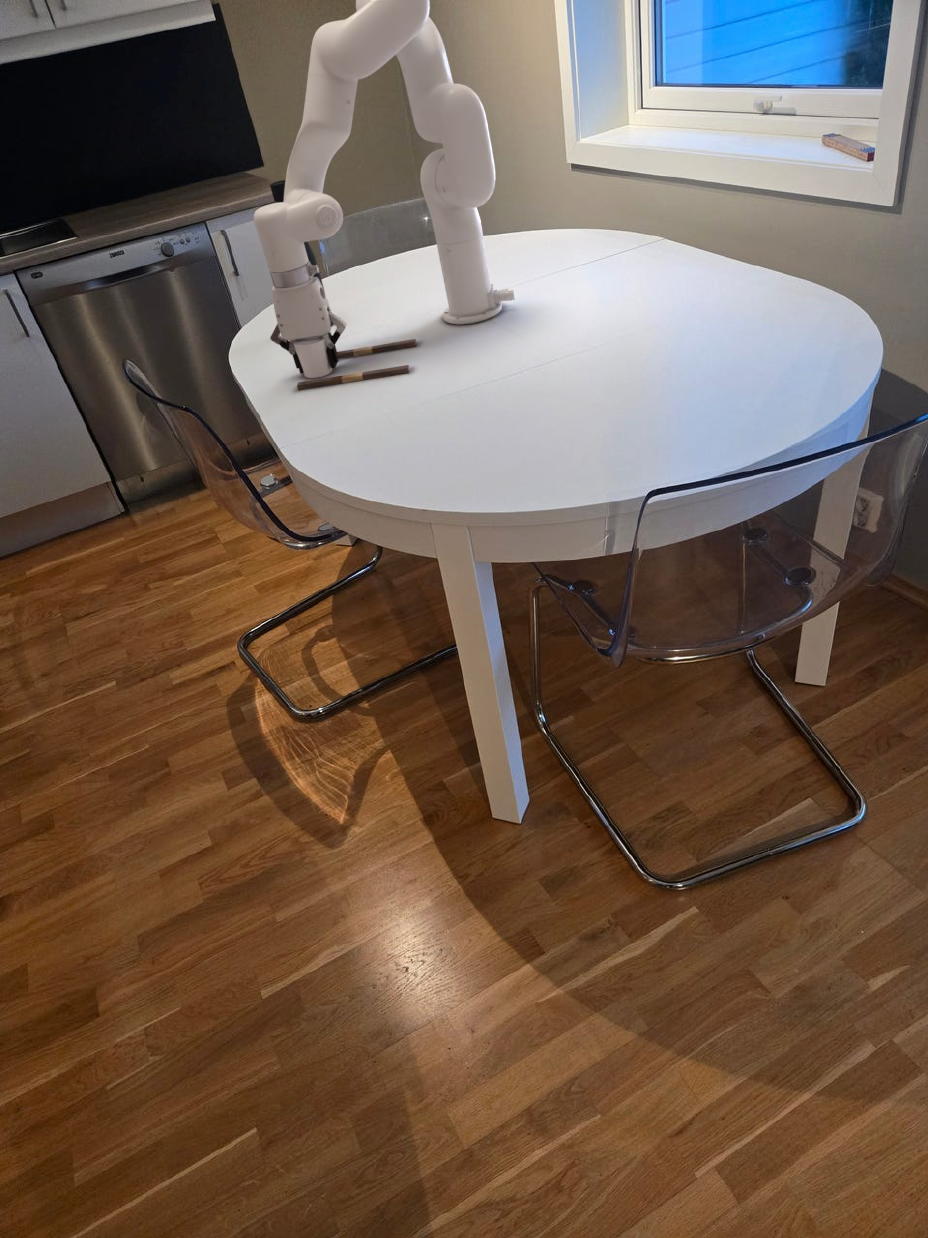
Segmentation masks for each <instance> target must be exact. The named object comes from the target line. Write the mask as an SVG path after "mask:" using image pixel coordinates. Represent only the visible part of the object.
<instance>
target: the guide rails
mask: <svg viewBox="0 0 928 1238" xmlns="http://www.w3.org/2000/svg"><path fill="white" fill-rule="evenodd" d="M414 347H417V339H416V338H412V339H407V340H401V341H394V342H388V343H382V344H376V345H371V346H364V347H357V348H353V349H351V348H350V349H346V350H345V349H344V350H340V351H337V354H338V357H339V360H341V359H347V358H353V357H359V356H364V355H371V354H376V353H377V354H378V353H383V352H389V351H390V352H391V351H395V350H401V349H402V350H403V349H408V348H414ZM402 374H410V364H404V365H399V366H392V367H386V368H380V369H372V370H367V371H360V372H354V373H348V374H343V375H342V374H341V375H335V376H330V377H324V378H315V379H311V380H305V381H298V382H297V384H296V389H297V391H302V390H308V389H314V388H321V387H327V386H335V385H339V384H347V383H354V382H358V381H359V382H360V381H365V380H371V379H378V378H383V377H390V376H396V375H402Z"/></svg>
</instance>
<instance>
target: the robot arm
mask: <svg viewBox="0 0 928 1238" xmlns="http://www.w3.org/2000/svg"><path fill="white" fill-rule="evenodd" d="M430 4H431V2H430V0H355V10H356V11H355V12H354V13H353V14H351V15H350V16H349V17H347V18H345V19H340V20H333V21H329V22H327V23H324V24H323V25H321V26H320V27H318V29H317V30H316V31H315V33H314V36H313V38H312V42H311V47H310V55H309V63H308V70H307V71H308V72H307V80H306V88H305V97H304V105H303V113H302V121H301V125H300V128H299V130H298V132H297V134H296V138H295V141H294V144H293V146H292V150H291V153H290V156H289V159H288V163H287V170H286V173H285V180H286V182H285V190H284V202H280V203H278V202H274V203H269V204H267V205H264V206H261V207H260V208H257V209H256V210H255V211H254V214H253V223H254V225H255V229H256V231H257V235H258V238H259V241H260V245H261V248H262V251H263V255H264V257H265V260H266V264H267V268H268V271H269V274H270V277H271V280H272V284H273V286H272V287H271V296H272V297H271V298H272V304H273V309H274V314H275V319H276V322H277V324H276V325H275V327H274V329H273V330H272V333H271V335H270V337H269V339H270V341H272V342H273V343H275V344H277V346H278V345H280V348H283V349H284V350H285V351H287V352H288V353H289V354H290V355H291V356H292V358H293V361H294V365H295V368H296V369H298V371H299V374H300V375H301V374H304V371H303V368H302V366H301V363H300V360H299V357H298V355H297V353H296V350H295V347H294V344H293V343H294V342H296V341H297V340H298V339H304V338H310V337H316V336H321V338H322V339H324V342H325V343H326V345H327V350H326V352H327V355H328V359H329V362H330V366H331V368H332V370H334V369H336V367H337V365H338V363H339V361H340V359H339V357H338V354H337V352H338V350H337V347H336V344H337V342H338V340H339V339H340V337H341V335H342V334H343V333H344V332H345V329H346V328H347V322H346V321H344V320H342V319H341V318H340V317H338V316H337V315H336V314H335V313H333V311H332V309H331V305H330V302H329V300H328V297H327V294H326V291H325V288H324V289H323V287H324V286H323V287H322V285H321V283H320V281H319V279H318V277H313V276H314V274H315V273H320V268H319V265H318V264H317V265H315V266H314V265H311V263H310V261H309V260H308V256H307V253H306V249H305V246H304V242H307V241H308V242H311V241H319V240H325V239H328V238H331V237H333V236H334V235H336V234H337V233H338V232H339V230H340V229H341V227H342V226H343V222H344V211H343V209H342V207H341V205H340V203H339V202H338V201H337V200H336V198H334V197H333V196H332V195H329V194H326V193H324V187H325V186H324V185H325V179H326V176H327V175H326V174H327V171H328V168H329V166H330V163H331V162H332V159H333V158H334V156H335V155H336V153H338V151H339V150H340V149H341V148H342V147H343V146H344V145H345V143H346V142H347V141H348V139H349V137H350V135H351V131H352V125H353V118H354V110H355V103H356V95H357V89H358V82H359V80H362V79H365V78H367V77H369V76H371V75H373V74H374V73H376V72H377V71H378V70H379V69H381V68H382V67H383V66H384V65H386V64H387V63H388V62H389V61H390V60H391V59H392V58H394V56H396V58H397V61H398V62H399V66H400V69H401V72H402V76H403V80H404V85H405V89H406V94H407V99H408V103H409V108H410V111H411V117H412V121H413V125H414V128H415V130H416V132H417V134H418V135H419V136H420V138H422V139H423V140H424V141H427V142H430V143H435V144H442V148H438V149H436V150H434V151H432V152H430V153H429V154H428V155H427V156H426V158H425V159H424V161H423V162H422V165H421V168H420V174H419V176H420V177H419V178H420V179H419V180H420V187H421V191H422V194H423V197H424V201H425V203H426V206H427V209H428V212H429V215H430V219H431V223H432V227H433V232H434V238H435V241H436V247H437V253H438V258H439V264H440V269H441V274H442V279H443V284H444V290H445V295H446V300H447V305H448V307H447V308H446V309H444V310H443V313H442V318H443V321H444V322H446V323H448V324H450V325H468V324H476V323H480V322H483V321H487V320H488V319H491V318H493V317H495V316H497V315H498V314H499V313H500V312H501V311H502V309H503V305H502V302H509V301H515V300H516V299H515V292H514V289H513V290H509V288H503V289H500V290H498V289H495V287H494V284H493V283H491V277H490V271H489V264H488V257H487V253H486V245H485V240H484V239H485V238H484V234H483V227H482V222H481V216H480V214H479V210H478V208H479V207H481V206H483V205H485V204H486V203H488V201H489V200H490V199H491V197H492V195H493V193H494V190H495V186H496V165H495V159H494V153H493V147H492V142H491V135H490V130H489V125H488V120H487V115H486V112H485V108H484V105H483V103H482V101H481V99H480V97H479V95H478V94H477V93H476V92H475V90H473V89H472V88H471V87H469V86H467V85H464V84H462V83H454V80H453V77H452V72H451V68H450V63H449V59H448V56H447V55H448V54H447V52H446V47H445V44H444V41H443V38H442V35H441V33H440V32H439V30H438V28H437V26H436V24H435V23H434V21H433V20H432V18H431V17H430V10H431V5H430ZM324 291H325V292H324ZM333 326H335V327H336V329H335V331H334V333H332V332H331V331H332V327H333Z"/></svg>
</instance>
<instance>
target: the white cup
mask: <svg viewBox="0 0 928 1238" xmlns="http://www.w3.org/2000/svg"><path fill="white" fill-rule="evenodd" d="M293 344H294V347H295V350H296V353H297V355H298V357H299V360H300V363H301V366H302V368H303V371H304V373H303V374H304V377H305V378H309V379H318V378H321V377H325V376H327V375H329V374H331V373H332V371H333V369H332V368H331V366H330V362H329V359H328V355H327V352H326V350H327V345H326V343H325V342H324V339H322V338H321V336H316V337H310V338H304V339H298V340H297V341H296V342H294V343H293Z"/></svg>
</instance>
